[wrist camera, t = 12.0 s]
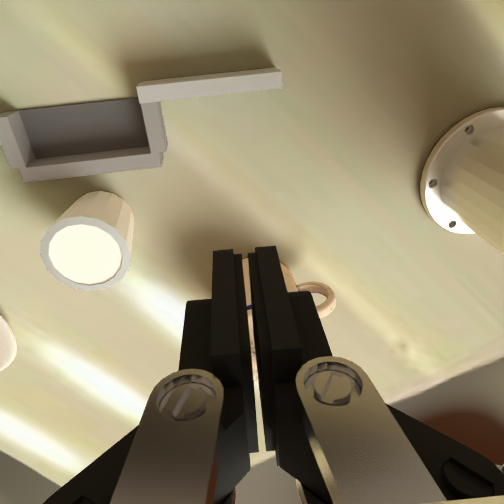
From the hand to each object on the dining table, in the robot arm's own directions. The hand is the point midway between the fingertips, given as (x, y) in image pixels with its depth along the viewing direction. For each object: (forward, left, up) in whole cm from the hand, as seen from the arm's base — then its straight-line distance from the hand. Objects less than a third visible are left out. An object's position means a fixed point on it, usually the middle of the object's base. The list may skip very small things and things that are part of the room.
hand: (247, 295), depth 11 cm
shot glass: (+12, +9, -28) cm, 31 cm away
